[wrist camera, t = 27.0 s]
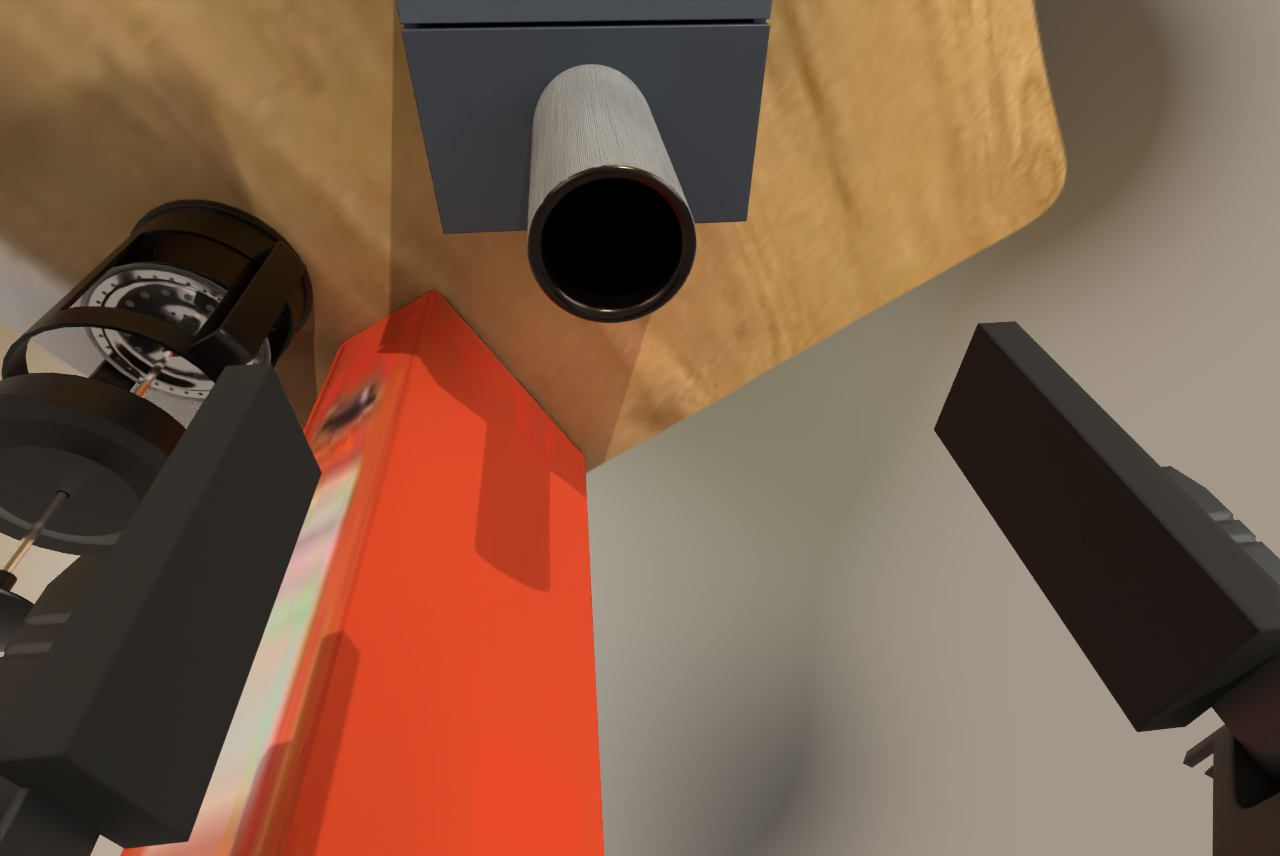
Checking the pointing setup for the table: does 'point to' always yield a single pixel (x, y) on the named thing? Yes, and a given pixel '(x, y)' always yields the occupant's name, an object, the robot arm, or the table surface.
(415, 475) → the file binder
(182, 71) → the table surface
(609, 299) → the gray hollow cylinder
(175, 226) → the french press
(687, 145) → the carton
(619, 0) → the flap
